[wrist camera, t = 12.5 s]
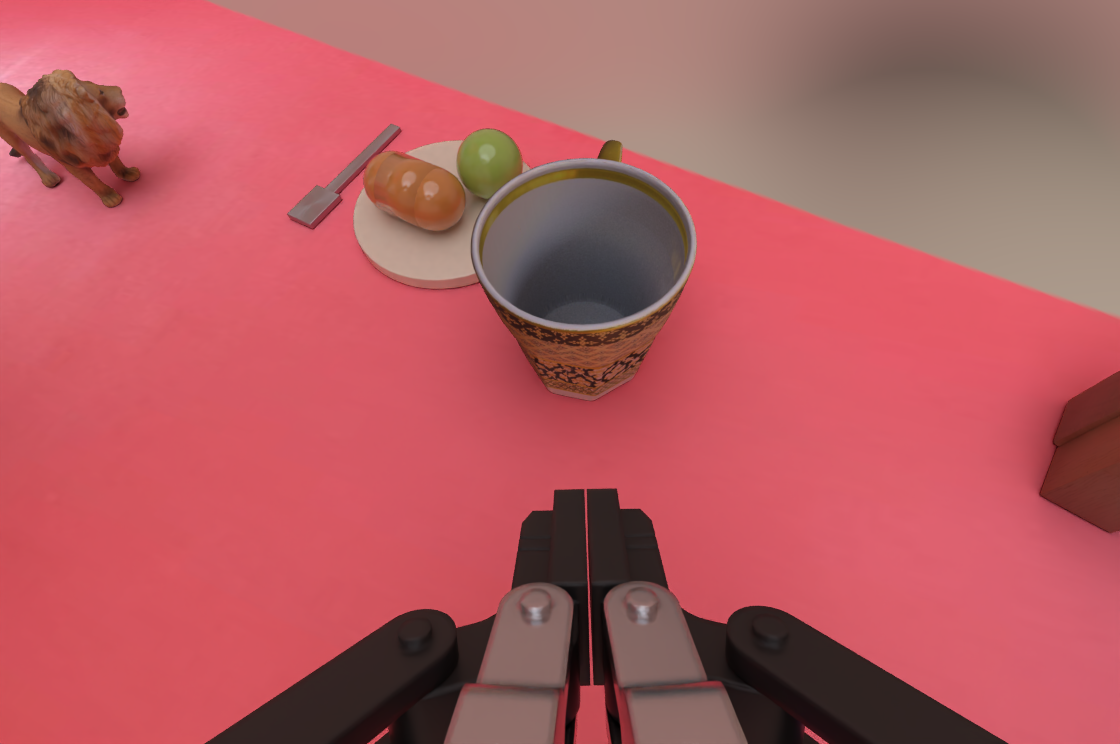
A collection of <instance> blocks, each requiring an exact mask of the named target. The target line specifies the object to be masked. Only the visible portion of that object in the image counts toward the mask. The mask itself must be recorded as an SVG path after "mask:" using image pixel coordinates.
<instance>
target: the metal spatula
mask: <svg viewBox="0 0 1120 744" xmlns="http://www.w3.org/2000/svg"><path fill="white" fill-rule="evenodd" d="M400 132H401V129H400V127H399V126H396V125H393V124H390V125H389V126H388V127H387V128H386V129H385V130H384V131H383V132H382V133H381V134H380V135H379V136H378V137H377V138H376V139H375V140H374V141H373V142H372V143H371V144H370V145H369V146H368V147H367V148H366V149H365V150H364V151H363V152H362V153H361V154H360V155H358V156H357V157H356V158H355V159H354V160H353V161H352V162H351V163H350V164H349V165H348V166H347V167H346V168H345V169H344V170H343V171H342V172H341V173H340V174H339V175H338V176H337V177H336V178H335V179H334V180H333V181H332V182H331V183H330V184H329V185H328V186H327V187H326V188H323V187H320V186H318V185H316V186H315V187H314V188H313V189H312V190H311V191H310V192H309V193H308V194H307V195H306V196H305V197H304V198H303V199H302V200H301V201H300V202H299V203H298V204H297V205H296V206H295V207H294V208H293V209H292V210H291V211H290V212H288V213H287V215H288V216H289V218H290V219H292V220H294V221H296V222H298V223H301V224H303V225H305V226H307V227H309V228H311V229H314V228H315V227H316V226H317V224H318V223H319V222H320V221H321V220H322V219H323V218H324V217H325V216H326V215H327V214H328V213H329V212H330V211H331V210H332V209H333V208H334V207H335V206H336V205H337V204H338V203H339V202H340V201H341V200H342V199H341V197H340V195H339V193H340V192H341V191H342V190H343V189H344V188H345V187H346V186H347V185H348V184H349V183H350V182H351V181H352V180H353V179H354V178H355V177H356V176H357V175H358V174H359V173H360V172H361V171H362V170H363V169H364V168H365V167H366V166H367V164H368V163H369V161H370V160H371V159H372V158H373V157H375V156H376V155H378V154H379V153H380V152H381V151H382V150H383V149H384V148H385V147H386V146H387V145H388V144H389V143H390V142H391V141H392V140H393V139H394V138H395V137H396V136H397V135H398V134H399V133H400Z"/></svg>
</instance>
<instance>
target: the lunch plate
mask: <svg viewBox="0 0 1120 744" xmlns="http://www.w3.org/2000/svg"><path fill="white" fill-rule="evenodd" d="M528 170H530V168H529V167H528V166H527V165H526V163H525V162H524V161H523V159H522V155H521V152H520V149H519V147H518V146H517V144H516V143H515V141H514V140H513V139H512V138H511V137H510V136H508V135H507V134H505V133H504V132H502V131H499V130H496V129H490V128H486V129H480V130H477V131H475V132H473V133H471V134H470V135H468V136H467V137H466V138H465V139H464V140H455V141H444V142H438V143H432V144H429V145H425V146H421V147H419V148H416V149H413V150H410V151H408V152H406V153H402V152H398V151H386V152H382V153H380V154H378V155H376V156H375V157H373V158H372V159H371V160H370V161H369V163H368V164H367V166H366V168H365V171H364V176H363V185H364V188H363V189H362V191H361V193H360V195H359V197H358V199H357V202H356V205H355V209H354V216H353V224H354V231H355V236H356V238H357V240H358V243H359V245H360V247H361V249H362V251H363V253H364V254H365V256H366V257H367V259H368V260H369V261H370V262H371V263H372V265H373V266H374V267H375V268H376V269H378V270H379V271H380V272H382V273H383V274H384V275H386V276H388V277H390V278H392V279H393V280H396V281H398V282H401V283H403V284H406V285H410V286H414V287H420V288H427V289H447V288H457V287H462V286H467V285H471V284H474V283H477V282H479V280H478V278H477V275H476V273H475V270H474V268H473V264H472V259H471V236H472V231H473V227H474V224H475V221H476V219H477V217H478V215H479V213H480V211H481V210H482V208H483V207H484V205H485V203H486V202H487V201H488V200H489V199H490V197H491V196H492V195H493V194H494V193H495V192H496V191H497V190H498V189H499V188H500V187H502V186H503V185H504V184H506V183H507V182H508V181H510V180H511V179H513V178H515V177H516V176H518V175H520V174H522V173H524V172H526V171H528Z"/></svg>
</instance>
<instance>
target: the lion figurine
mask: <svg viewBox="0 0 1120 744" xmlns="http://www.w3.org/2000/svg"><path fill="white" fill-rule="evenodd" d="M125 104H126V102H125V99H124V96H123V95H122V90H121V88H120V87H117V86H104V85H97V84H94V83H92V82H90V81H81V80H79V79H77V78H76V77H75V75H74V74H73V73H72V72H71V71H69V70H54V71H53V72H52V73H51V74H48V75H43V76H42V78H41V79H39V80H38V82H37V83H36V84H35V85H34V86H33V88H31V89H29V90H28V91H27V95H25V94H23V93H22V92H21V91H20V90H18V89H17V88H16V87H14V86H12V85H9V84H7V83H0V137H1V138H2V139H3V140H5V141H6V142H7V143H8V144H9V145H11V146H12V147H13V148H12V150H11V151H10V153H9V155H10V156H14V157H21V155H22V156H24V157H25V159H26V160H27V162H28V163H29V164H30V165H31V166H32V167H33V168H34V169H35V170H36V171H37V173H38V174H39V176H40V177H41V179H42V183H43V184H44V185H45V186H47V187H53V186H55V185H56V184H57V183H58V182H60V177H59V176H58V175H57V174H55V173H54V172H52V171H51V170H50V169H49V168H48V167H47V166H46V165H45V164H44V163H43V162H42V161H41V159H40V158H39V157H38V156H37V155H36V154H34V153H33V152H32V150H31V149H30V147H29V145H30V146H31V147H33V148H34V149H36V150H38V151H40V152H42V153H44V154H47V155H49V156H52V157H53V158H54V159H55V160H57V161H58V162H59V163H61V164H62V165H64V166H65V167H66V169H67V170H68V171H69V172H70V173H71V174H72V175H74V176H75V177H76V178H78V179H79V180H80V181H82V182H83V183H84V184H85V185H86V186H88V187H89V188H90V189H92V190H93V191H94V192H95V193H96V194H97V195H98V196H99V197H100V198H101V200H102V201H103V203H104V205H105V206H107V207H114V206H116V205H118V204H119V203H120V202H121V201H122V197H121V196H120V195H118V194H117V193H116V191H115V190H114V189H113V188H111V187H109V186H108V185H106V184H104V183H103V182H102V181H101V180H100V179H99V178H98V177H97V176H96V175H95V174H94V173H93V171H92V170H91V167H94V166H96V167H100V166H101V167H106V166H107V165H108V164H109V166H110V168H111V169H112V171H113V172H114V173H115V175H116V176H117V177H118V178H120V179H123V180H126V181H135V180H136V179H138V178H139V175H140V171H139V169H138V168H136V167H131V168H127V167H126V166H124V165H123V163H122V162H121V160H120V159H119V157H118V154H119V150H120V148H119V145H120V144H121V140H122V137H123V129H122V128H121V126H120V125H119V124H118V123H117V122H116V121H115V120H116V119H119V118H127V117H128V116H129V114H128V112H127V110H126V109H125V107H124V106H125Z"/></svg>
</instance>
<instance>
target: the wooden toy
mask: <svg viewBox="0 0 1120 744" xmlns="http://www.w3.org/2000/svg"><path fill="white" fill-rule="evenodd" d="M1054 444H1055V445H1057V446H1059V447H1057V449H1056V452H1055V455H1054V457H1053V460H1052V462H1051V465H1050V468H1049V470H1048V473H1047V476H1046V479H1045V482H1044V484H1043V487H1042V490H1041V493H1040V495H1041V496H1043V497H1045V498H1046V499H1048V500H1050V501H1052V502H1054V503H1056V504H1057V505H1059V506H1061V507H1063V508H1065V509H1067V510H1068V511H1070V512H1072V513H1074V514H1076V515H1078V516H1080V517H1081V518H1083V519H1085V520H1087V521H1089V522H1091V523H1093V524H1094V525H1096V526H1098V527H1100V528H1102V529H1104V530H1106V531H1108V532H1110V533H1113V532H1116V531H1120V371H1118V372H1117V373H1115V374H1113V375H1111V376H1110V377H1108V378H1106V379H1105V380H1103V381H1101V382H1099V383H1098V384H1096V385H1094V386H1093V387H1091V388H1089V389H1087V390H1086V391H1084V392H1082V393H1081V394H1079V395H1077V396H1075V397H1074V398H1072V399H1070V400H1069V401H1068V403H1067V406H1066V408H1065V411H1064V414H1063V416H1062V419H1061V422H1060V425H1059V427H1058V430H1057V433H1056V435H1055V438H1054Z"/></svg>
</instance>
